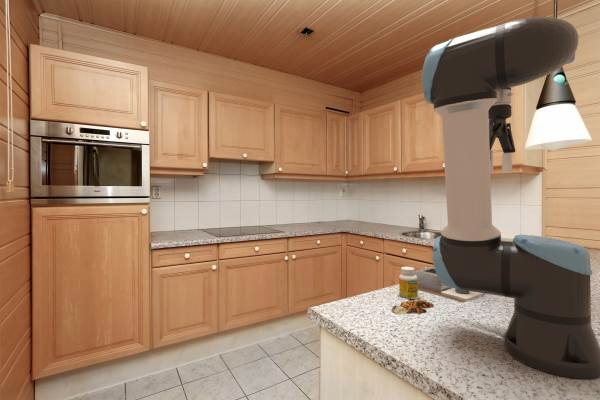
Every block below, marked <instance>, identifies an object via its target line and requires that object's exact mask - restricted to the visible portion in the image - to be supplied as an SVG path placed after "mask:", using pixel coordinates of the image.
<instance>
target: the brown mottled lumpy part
mask: <svg viewBox="0 0 600 400" xmlns="http://www.w3.org/2000/svg"><path fill="white" fill-rule="evenodd" d="M434 306H435V305H434V304H433V303H432V302H431V301H426V299H425V298H424V297H423V296H418V297H416V298H410V299H408V300H405V301H402V302H401V303H400V305H393V306H392V308H391V310H390V311H391V313H392V312H393V313H395V314H396V315H400V314H402V315H406V314H407V313H408V312H415V311H416V313H417V315H421V314H422V313H423V314H426V313H428V311H427V309H431V308H433V307H434Z"/></svg>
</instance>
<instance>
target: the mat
mask: <svg viewBox="0 0 600 400" xmlns="http://www.w3.org/2000/svg"><path fill="white" fill-rule="evenodd" d="M441 294H443V295H447V296H450V297H454V298H457V299H461V300H465V301H466V302H468V300H469V301H471V300H474V299H476V298H478V296H479V297H481V296H483V295H485V294H484V293H479V292H472V291H470V294H459V293H456V292H455V288H451V289H448V290H445V291H442V292H441ZM473 298H474V299H473Z"/></svg>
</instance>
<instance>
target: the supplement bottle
mask: <svg viewBox="0 0 600 400" xmlns="http://www.w3.org/2000/svg"><path fill="white" fill-rule="evenodd" d="M415 270H416V269H415V267H413V266H402V267H400V272H401V274H399V276H398V282H399V283H398V286H399V287H398V289H399V296H400V297H401V298H402V299H403V298H404V299H408V300H409V299H410V298H416V297H419V295H418V294H419V293H418V291H419V290H418V282H417V281H418V280H417V276H416V275H415V274H414V273H415Z"/></svg>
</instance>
